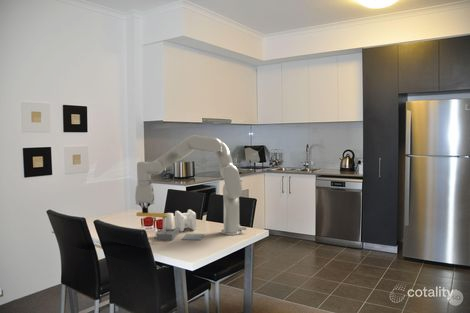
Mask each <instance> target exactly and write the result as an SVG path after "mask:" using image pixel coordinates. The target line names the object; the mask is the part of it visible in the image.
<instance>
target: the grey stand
mask: <svg viewBox="0 0 470 313" xmlns="http://www.w3.org/2000/svg"><path fill="white" fill-rule="evenodd" d="M179 234H180V231H179V228H176V227H175V229H174V231H166V217H162V228H161V230H160V231H158V232H157V233H156V234H155V235H156V236H155V239H156V241H173V240H174V239H175V238H176V237H177V236H178V235H179Z"/></svg>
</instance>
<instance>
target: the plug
mask: <svg viewBox="0 0 470 313" xmlns="http://www.w3.org/2000/svg"><path fill="white" fill-rule="evenodd" d="M166 214H167V217H166V231H174V229H175V228H176V227H175V213H173V212H166Z"/></svg>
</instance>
